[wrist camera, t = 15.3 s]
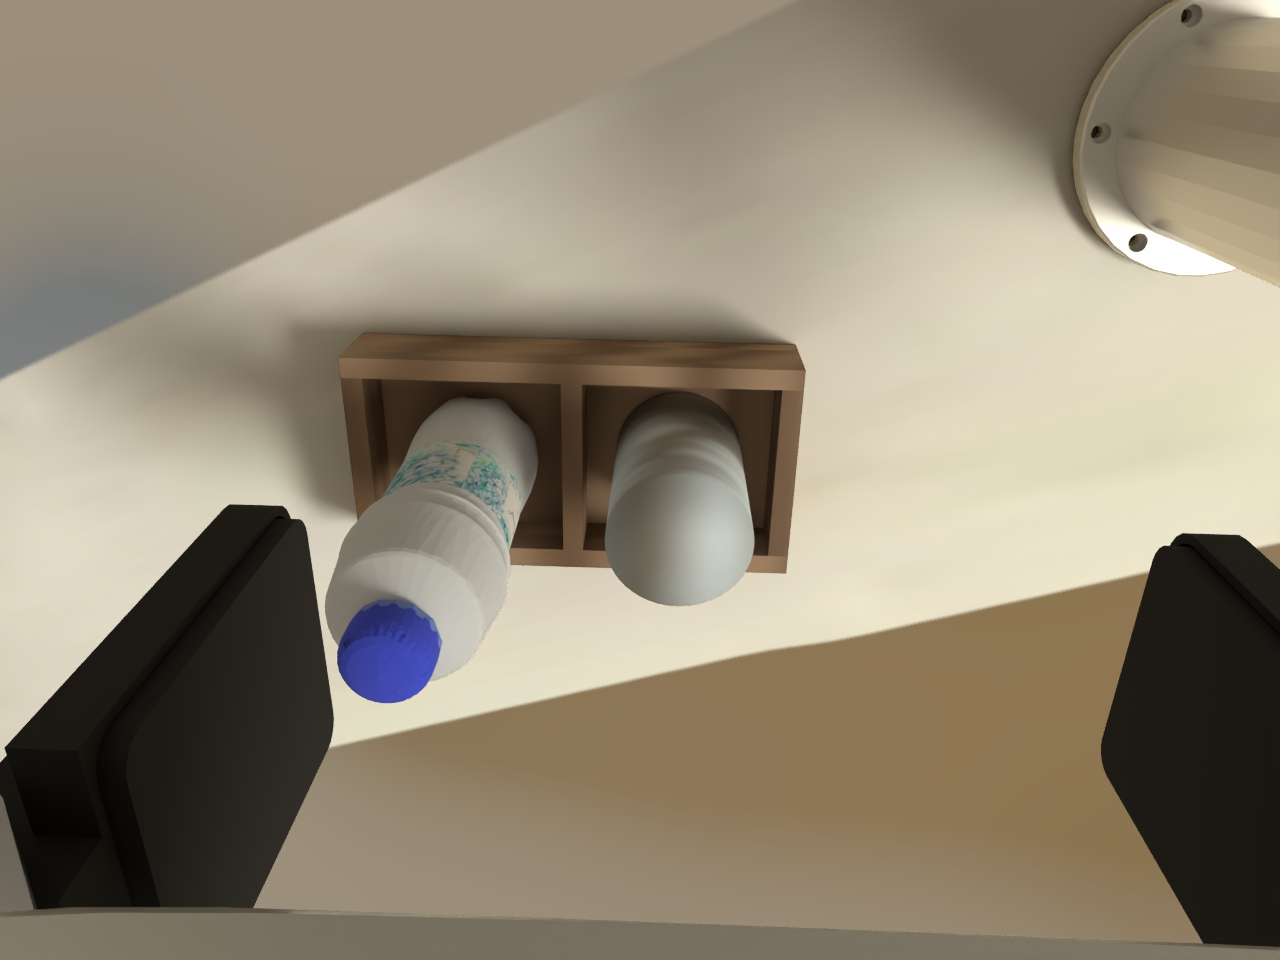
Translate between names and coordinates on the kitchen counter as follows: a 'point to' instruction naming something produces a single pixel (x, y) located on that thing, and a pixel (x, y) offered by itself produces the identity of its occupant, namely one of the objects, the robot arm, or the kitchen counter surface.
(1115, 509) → the kitchen counter surface
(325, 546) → the kitchen counter surface
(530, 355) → the wooden divided box
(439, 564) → the bottle
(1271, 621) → the robot arm
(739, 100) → the kitchen counter surface
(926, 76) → the kitchen counter surface
